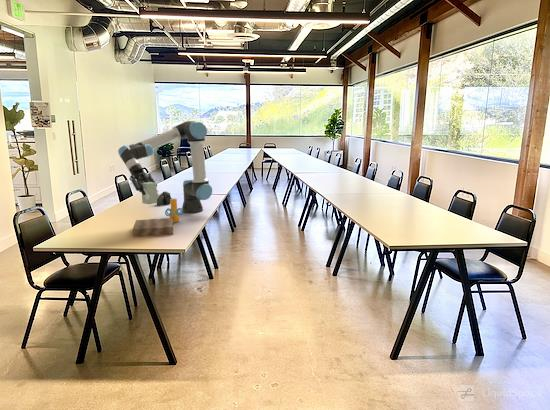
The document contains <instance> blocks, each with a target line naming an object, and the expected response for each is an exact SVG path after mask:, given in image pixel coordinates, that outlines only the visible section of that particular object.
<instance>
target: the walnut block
mask: <svg viewBox="0 0 550 410" xmlns="http://www.w3.org/2000/svg"><path fill="white" fill-rule="evenodd" d="M134 222H135V223H134V224H133V228H132V237H133V238H138V237H139V238H141V237H153V236H169V235H174V222H173V218H170V217H168V218H167V217H166V218H151V219H150V218H149V219H135V221H134Z"/></svg>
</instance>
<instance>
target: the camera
mask: <svg viewBox="0 0 550 410" xmlns="http://www.w3.org/2000/svg"><path fill="white" fill-rule="evenodd" d="M159 195H160V196H159V197H158V198H157V203H156V205H157V206H161V205H162V206H164V205H167V204H171V203H170V199H173V198H172V196H171V192H168V191H162V192H161V193H160V194H159ZM163 204H164V205H163Z"/></svg>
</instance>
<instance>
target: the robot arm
mask: <svg viewBox="0 0 550 410" xmlns="http://www.w3.org/2000/svg"><path fill="white" fill-rule="evenodd" d="M207 133H208V128H207V126H206V125H205V124H204V122H202V121H198V120H193V121H189V120H187V121H184V122H181V123H180V124H178V125H175V126H172V128H171V129H169V130H167V131H165V132H161V133H159V134H157V135H154V136H152V137H148V138H146V139H144V140H142V141H139V142H136V143H131V144H129V145H122V146H121V147H119V149H118V151H117V152H118V155H119V157H120V159H121V160H122V162H123V163H124V164H125V166H126V168H127V170H128V171H129V173H130V177H129V178H128V179H129V180H130V181H131V182H132V185H133V186H134V188H135V190H136V191H137V192H139V193H141V195H142V194H143V195H144V196H145V198H146V199H147V200H149V198H150V196H149V195H148V193H147V191H146V190H145V188H144V189H143V186H142V184H141V183H146V182H153V183H156V181H155V180H154V179H153V177H152V175H151V173H150V172H149V173H146V172H145V171H144V168H143V167H142V165H141V163H140V162H139V160H141V159H143V158H149V157H151V156H153V154H154V150H155V149H157V148H160V147H162V146H164V145H167V144H169V143H172V142H175V141H181V140H184V139H187V143H188V144H189V145H190V146H189V147H190V153H191V164H192V165H191V166H192V175H193V176H192V177H193V179H188V180H187V179H185V180H183V182H182V184H183V185H182V187H183V189H182V190H183V204H182V207H181V208H182V209H183V212H182V213H187V214H189V213H191V214H192V213H201V212H203V211H204V207H203V204H202V201H206V200H208V199H210V198H211V196H212V194H213V187H212V186H211V185H210V181H209V178H208V177H207V175H206V171H207V170H206V163H205V153H204V143H205V141H206V139H205V138H206V136H207ZM157 187H158V184H157V183H156V188H157ZM159 196H160V194H159V190H157V198H158V197H159Z"/></svg>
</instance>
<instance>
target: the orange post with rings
mask: <svg viewBox="0 0 550 410" xmlns="http://www.w3.org/2000/svg"><path fill="white" fill-rule="evenodd" d="M169 204H170V208H169V207H167V208H166V209H165V210H164V214H165V216H167V217H169V218H173V223H178V222H180V216H182V215H183V213H184V212H183V209H182V207H178V199H177V198H172V199H170V203H169ZM168 211H169V212H168ZM179 211H180V212H179Z"/></svg>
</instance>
